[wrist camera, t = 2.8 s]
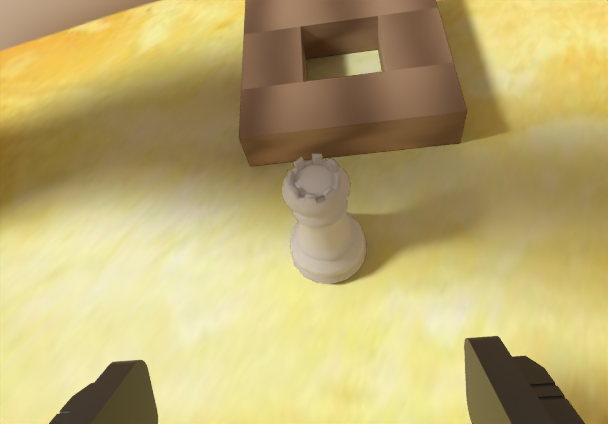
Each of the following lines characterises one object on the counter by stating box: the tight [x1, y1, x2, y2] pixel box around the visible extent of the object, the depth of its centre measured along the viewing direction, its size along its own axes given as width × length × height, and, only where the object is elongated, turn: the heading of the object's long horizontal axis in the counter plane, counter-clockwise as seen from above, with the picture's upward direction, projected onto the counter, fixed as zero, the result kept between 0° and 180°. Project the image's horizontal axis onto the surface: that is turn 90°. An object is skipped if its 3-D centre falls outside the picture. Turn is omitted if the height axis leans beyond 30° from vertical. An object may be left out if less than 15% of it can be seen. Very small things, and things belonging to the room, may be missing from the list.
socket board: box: [239, 0, 467, 166], centre depth 34 cm, size 14×14×3 cm
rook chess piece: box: [282, 154, 367, 284], centre depth 25 cm, size 4×4×8 cm
